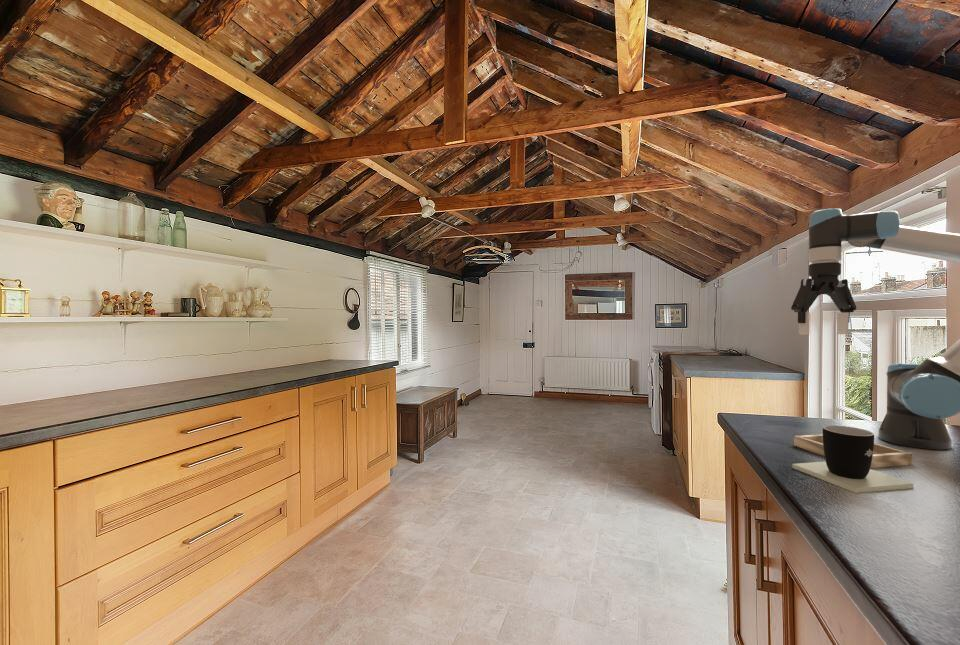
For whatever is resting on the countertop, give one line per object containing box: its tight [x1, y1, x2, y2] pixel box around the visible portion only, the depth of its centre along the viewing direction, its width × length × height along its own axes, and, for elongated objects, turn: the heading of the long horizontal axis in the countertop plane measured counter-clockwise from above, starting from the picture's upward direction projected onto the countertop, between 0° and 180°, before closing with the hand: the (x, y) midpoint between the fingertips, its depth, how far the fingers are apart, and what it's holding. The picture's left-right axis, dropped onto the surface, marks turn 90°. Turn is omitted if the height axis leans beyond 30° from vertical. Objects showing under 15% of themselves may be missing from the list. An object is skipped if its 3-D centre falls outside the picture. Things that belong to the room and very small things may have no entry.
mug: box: [822, 424, 875, 479], centre depth 99 cm, size 12×9×10 cm
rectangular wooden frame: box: [793, 433, 913, 469], centre depth 115 cm, size 15×18×3 cm
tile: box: [791, 461, 915, 494], centre depth 99 cm, size 15×15×1 cm
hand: (823, 334), depth 127 cm, fingers open, 13 cm apart
